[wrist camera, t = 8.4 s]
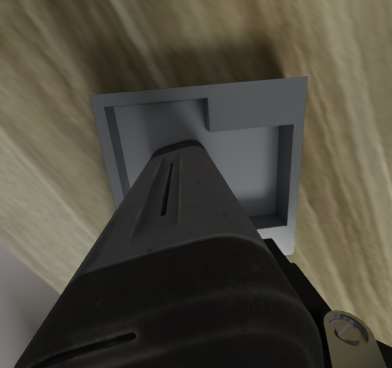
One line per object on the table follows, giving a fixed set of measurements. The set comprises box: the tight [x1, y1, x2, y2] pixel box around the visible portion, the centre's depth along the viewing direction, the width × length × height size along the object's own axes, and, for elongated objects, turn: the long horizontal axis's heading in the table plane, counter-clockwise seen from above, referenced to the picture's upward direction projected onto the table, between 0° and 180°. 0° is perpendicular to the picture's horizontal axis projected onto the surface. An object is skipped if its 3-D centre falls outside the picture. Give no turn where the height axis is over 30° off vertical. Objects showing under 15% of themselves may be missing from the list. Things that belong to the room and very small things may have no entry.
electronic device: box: [14, 139, 325, 368], centre depth 14 cm, size 9×6×20 cm, turn 16°
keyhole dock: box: [89, 76, 308, 255], centre depth 23 cm, size 19×19×4 cm
